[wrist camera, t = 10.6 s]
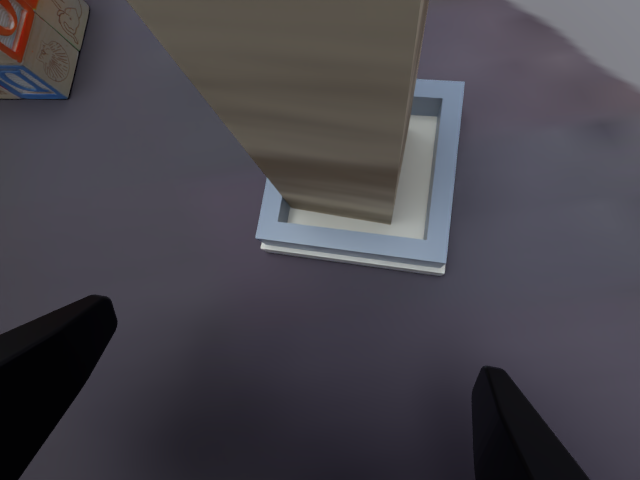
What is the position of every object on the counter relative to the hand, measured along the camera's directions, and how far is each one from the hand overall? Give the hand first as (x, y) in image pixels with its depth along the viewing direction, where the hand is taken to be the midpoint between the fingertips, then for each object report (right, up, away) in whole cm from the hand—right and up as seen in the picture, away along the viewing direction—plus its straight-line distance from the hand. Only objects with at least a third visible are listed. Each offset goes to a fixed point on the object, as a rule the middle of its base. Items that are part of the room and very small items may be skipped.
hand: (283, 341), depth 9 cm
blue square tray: (+3, +5, +9) cm, 11 cm away
